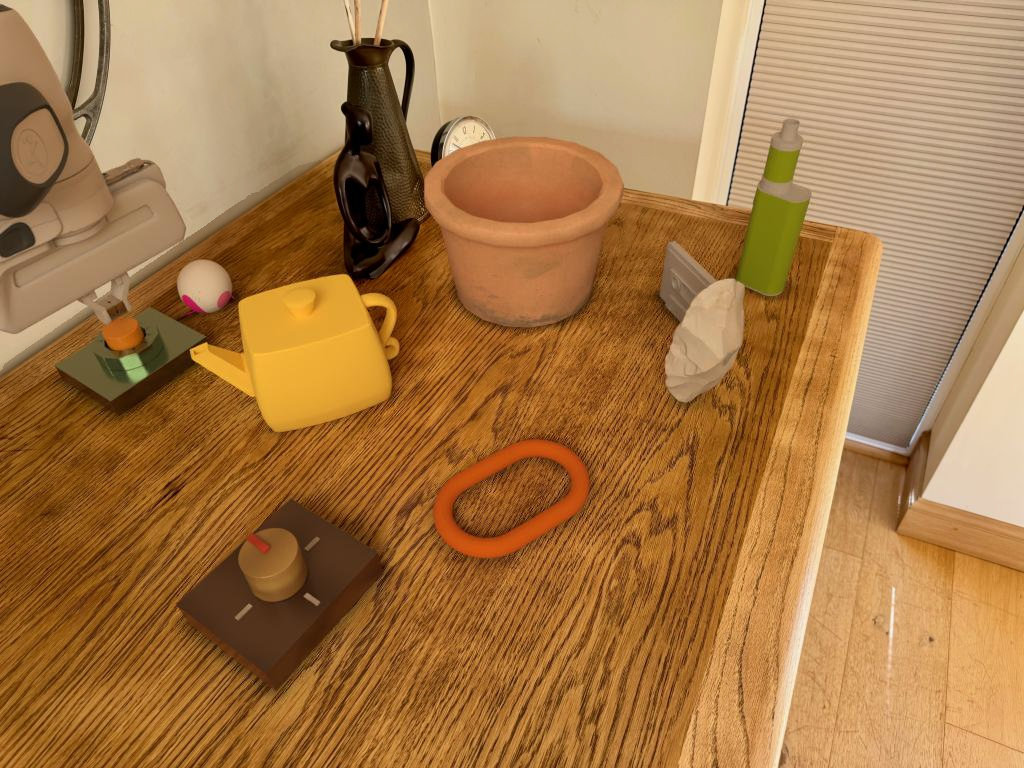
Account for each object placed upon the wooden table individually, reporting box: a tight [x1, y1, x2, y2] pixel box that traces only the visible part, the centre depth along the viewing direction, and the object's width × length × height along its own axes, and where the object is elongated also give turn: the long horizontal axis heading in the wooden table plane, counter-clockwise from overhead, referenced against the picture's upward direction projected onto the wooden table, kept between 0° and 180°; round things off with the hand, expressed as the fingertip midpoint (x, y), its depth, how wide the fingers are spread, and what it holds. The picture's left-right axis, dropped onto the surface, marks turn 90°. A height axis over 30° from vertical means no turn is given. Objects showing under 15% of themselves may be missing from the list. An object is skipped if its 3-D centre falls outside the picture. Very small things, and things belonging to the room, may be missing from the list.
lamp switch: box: [53, 306, 211, 417], centre depth 79 cm, size 12×10×4 cm
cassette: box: [659, 240, 717, 323], centre depth 81 cm, size 12×2×8 cm, turn 22°
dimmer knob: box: [238, 528, 307, 602], centre depth 56 cm, size 4×4×4 cm
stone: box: [664, 278, 746, 404], centre depth 69 cm, size 8×5×15 cm
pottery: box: [423, 136, 625, 329], centre depth 84 cm, size 22×22×14 cm
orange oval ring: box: [432, 438, 591, 559], centre depth 65 cm, size 10×2×15 cm
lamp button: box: [101, 316, 144, 351], centre depth 77 cm, size 4×4×2 cm
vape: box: [735, 117, 813, 297], centre depth 82 cm, size 4×6×20 cm, turn 47°
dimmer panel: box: [175, 498, 384, 692], centre depth 58 cm, size 12×10×3 cm
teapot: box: [190, 273, 401, 433], centre depth 73 cm, size 20×12×12 cm, turn 113°
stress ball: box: [176, 259, 236, 319], centre depth 86 cm, size 8×8×7 cm
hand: (116, 315), depth 75 cm, fingers closed
